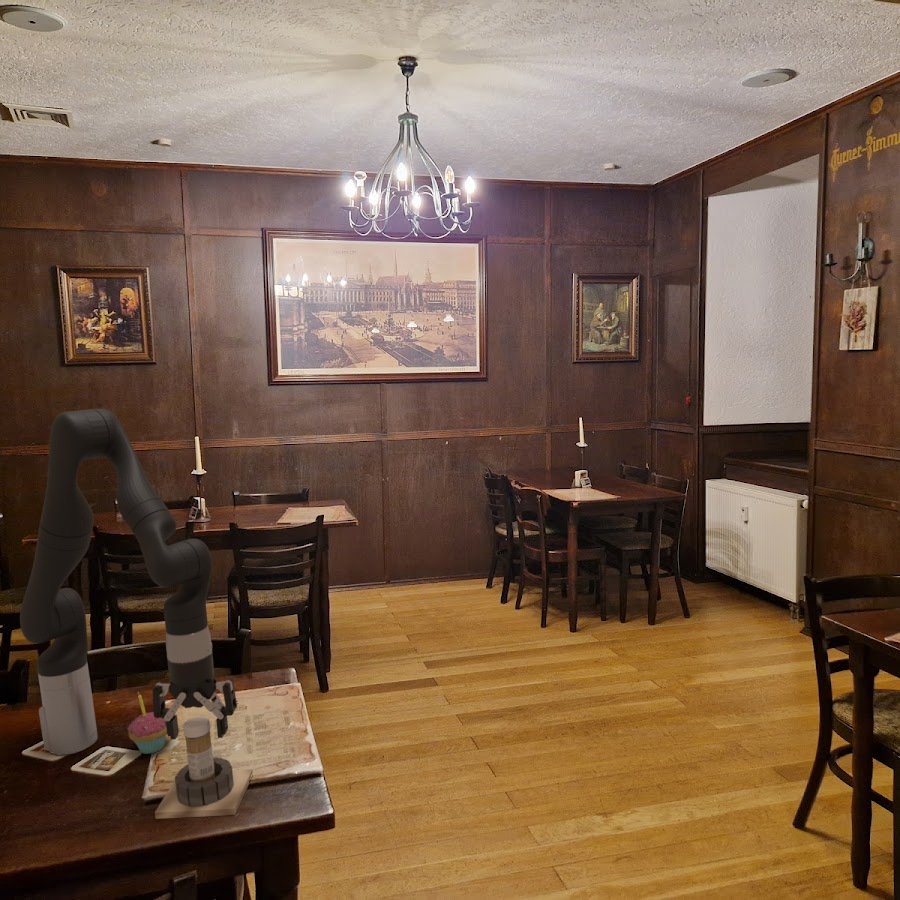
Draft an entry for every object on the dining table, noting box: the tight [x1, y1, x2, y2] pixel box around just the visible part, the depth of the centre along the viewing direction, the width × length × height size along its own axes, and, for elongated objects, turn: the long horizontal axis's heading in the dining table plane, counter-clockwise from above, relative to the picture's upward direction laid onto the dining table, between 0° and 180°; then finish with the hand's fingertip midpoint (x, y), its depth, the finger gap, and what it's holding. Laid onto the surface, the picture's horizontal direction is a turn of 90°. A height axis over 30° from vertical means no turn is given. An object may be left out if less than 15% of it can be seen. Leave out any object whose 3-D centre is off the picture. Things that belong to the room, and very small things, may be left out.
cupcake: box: [127, 691, 168, 755], centre depth 155 cm, size 9×8×12 cm
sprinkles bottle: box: [182, 715, 215, 783], centre depth 137 cm, size 5×5×14 cm
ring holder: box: [154, 756, 254, 820], centre depth 138 cm, size 14×12×5 cm
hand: (198, 736), depth 136 cm, fingers open, 8 cm apart
